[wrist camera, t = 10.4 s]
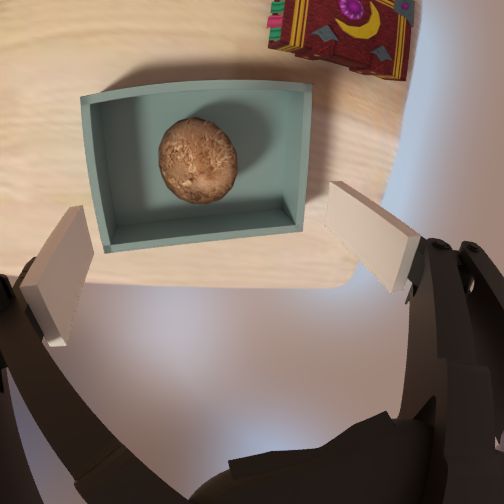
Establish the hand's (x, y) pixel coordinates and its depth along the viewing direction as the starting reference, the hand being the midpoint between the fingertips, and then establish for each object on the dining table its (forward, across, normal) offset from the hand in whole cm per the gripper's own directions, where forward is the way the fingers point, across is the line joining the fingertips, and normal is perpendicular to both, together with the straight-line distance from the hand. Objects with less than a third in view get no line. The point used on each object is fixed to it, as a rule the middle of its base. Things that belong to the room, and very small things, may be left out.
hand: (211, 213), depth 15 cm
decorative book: (+16, +15, +15) cm, 27 cm away
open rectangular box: (+16, +1, 0) cm, 16 cm away
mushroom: (+15, 0, 0) cm, 15 cm away
